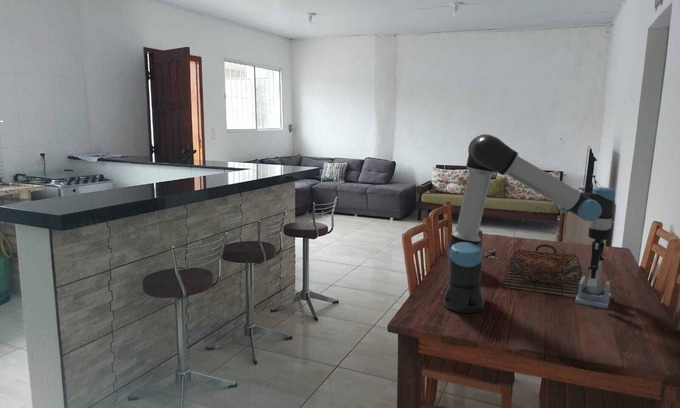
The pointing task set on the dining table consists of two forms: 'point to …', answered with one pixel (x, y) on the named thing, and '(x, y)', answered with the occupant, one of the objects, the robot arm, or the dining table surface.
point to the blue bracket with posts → (593, 296)
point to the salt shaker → (598, 288)
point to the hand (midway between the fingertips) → (594, 281)
